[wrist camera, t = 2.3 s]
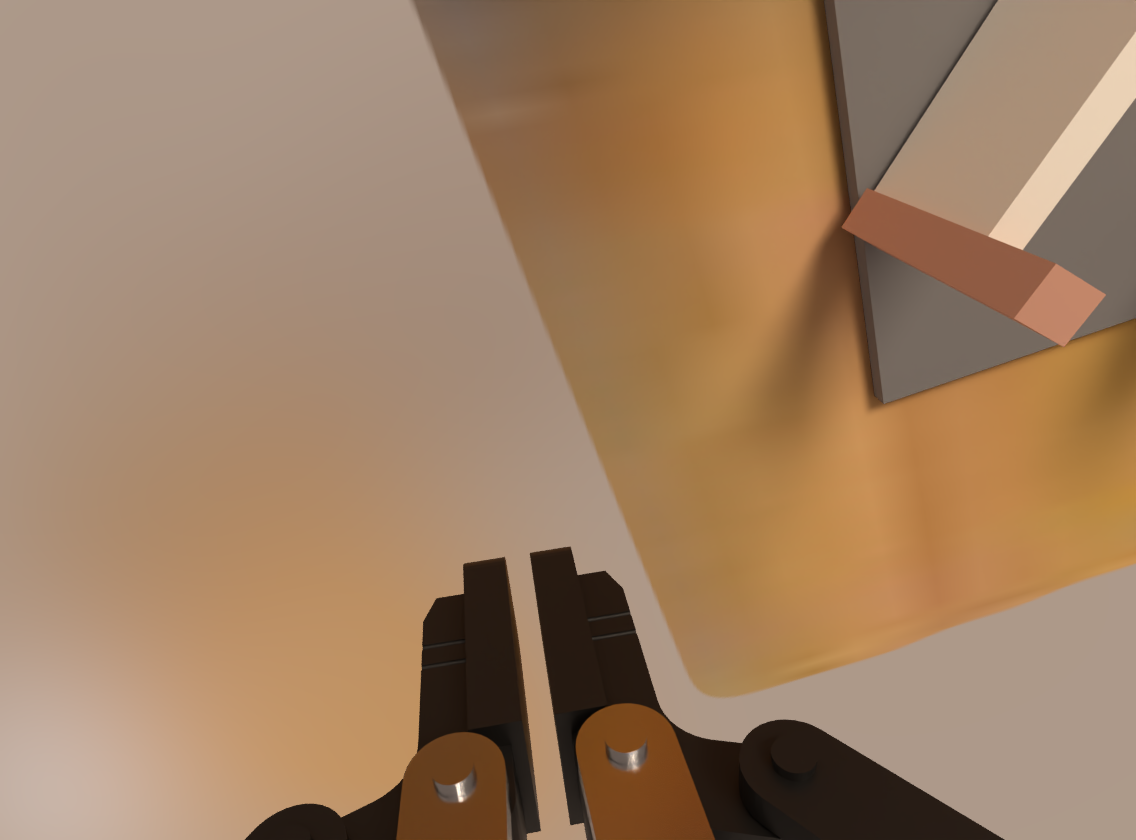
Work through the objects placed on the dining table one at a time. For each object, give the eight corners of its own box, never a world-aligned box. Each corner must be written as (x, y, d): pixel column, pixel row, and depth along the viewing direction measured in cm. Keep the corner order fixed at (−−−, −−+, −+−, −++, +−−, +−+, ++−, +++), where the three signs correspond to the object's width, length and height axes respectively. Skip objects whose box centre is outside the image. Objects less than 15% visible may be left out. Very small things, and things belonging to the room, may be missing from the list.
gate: (1127, -216, 30) (1530, -356, 19) (1166, -178, 30) (1577, -291, 19) (841, 227, 36) (1013, 318, 25) (880, 249, 37) (1064, 347, 26)
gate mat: (797, -202, 30) (808, -209, 29) (1227, -356, 29) (1251, -368, 28) (874, 396, 42) (883, 403, 41) (1174, 293, 42) (1189, 299, 41)
